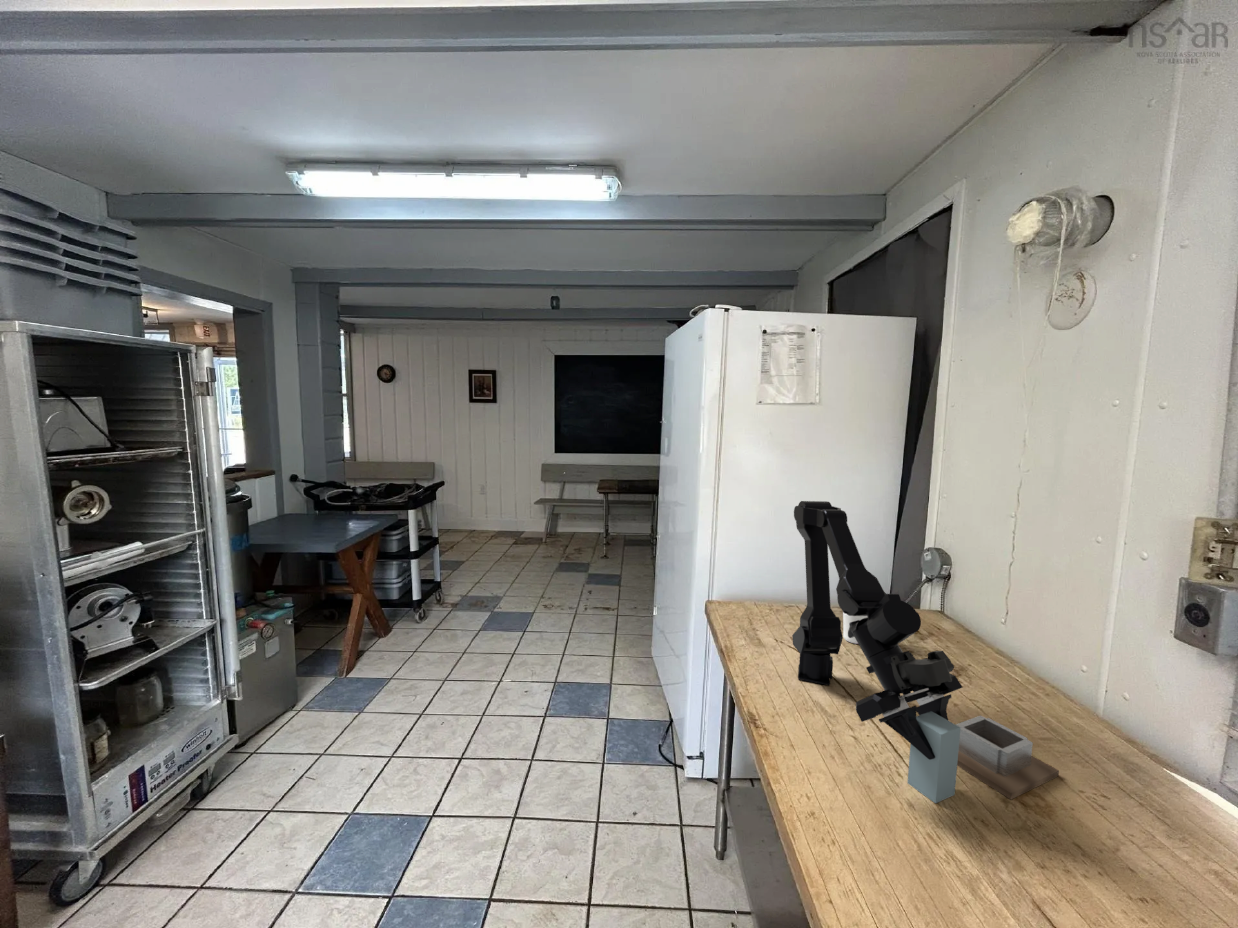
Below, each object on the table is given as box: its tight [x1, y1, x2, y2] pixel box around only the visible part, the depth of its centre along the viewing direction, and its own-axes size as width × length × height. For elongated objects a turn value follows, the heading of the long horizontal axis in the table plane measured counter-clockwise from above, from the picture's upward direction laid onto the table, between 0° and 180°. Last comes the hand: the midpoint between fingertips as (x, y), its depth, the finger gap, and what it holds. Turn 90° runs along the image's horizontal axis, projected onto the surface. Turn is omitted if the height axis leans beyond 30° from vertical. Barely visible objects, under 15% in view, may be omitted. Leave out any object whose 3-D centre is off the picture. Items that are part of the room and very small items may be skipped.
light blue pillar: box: [907, 711, 961, 804], centre depth 76 cm, size 4×4×11 cm
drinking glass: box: [842, 611, 868, 645], centre depth 128 cm, size 7×7×15 cm
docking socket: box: [955, 715, 1060, 800], centre depth 83 cm, size 13×13×5 cm
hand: (942, 754), depth 75 cm, fingers closed on light blue pillar, 4 cm apart
